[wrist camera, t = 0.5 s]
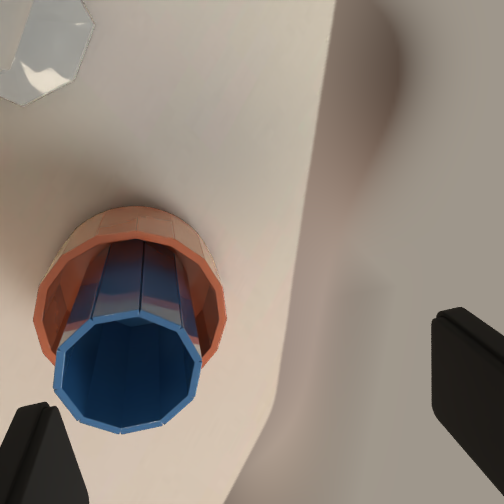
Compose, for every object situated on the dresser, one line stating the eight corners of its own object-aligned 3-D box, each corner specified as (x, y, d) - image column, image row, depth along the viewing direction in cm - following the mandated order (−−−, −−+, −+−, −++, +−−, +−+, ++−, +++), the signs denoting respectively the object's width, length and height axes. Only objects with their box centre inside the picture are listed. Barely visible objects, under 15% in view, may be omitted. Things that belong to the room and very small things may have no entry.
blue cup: (74, 246, 30) (34, 327, 20) (180, 230, 32) (192, 299, 21) (96, 334, 33) (70, 445, 23) (194, 317, 34) (210, 416, 24)
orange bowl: (37, 218, 30) (10, 248, 24) (203, 195, 32) (214, 218, 26) (76, 359, 34) (60, 413, 28) (222, 332, 36) (234, 378, 30)
